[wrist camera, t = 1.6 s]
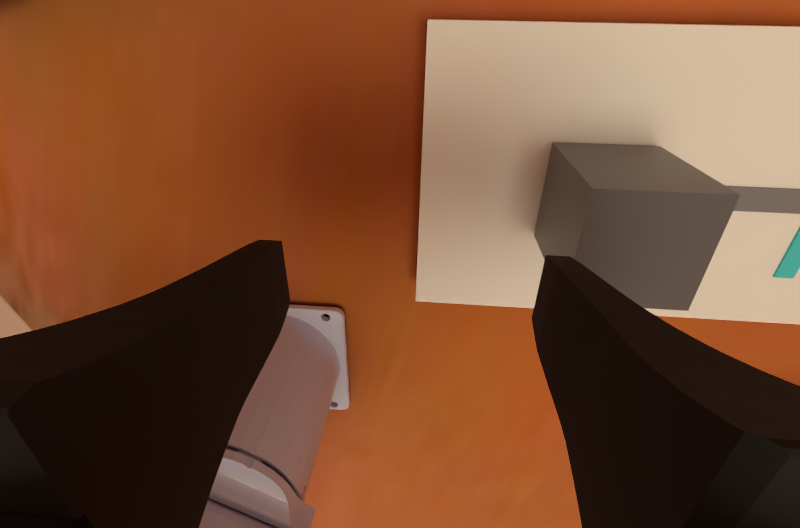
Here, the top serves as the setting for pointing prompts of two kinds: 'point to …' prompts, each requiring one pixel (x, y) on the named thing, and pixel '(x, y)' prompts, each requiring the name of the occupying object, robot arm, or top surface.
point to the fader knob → (633, 219)
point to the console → (607, 124)
